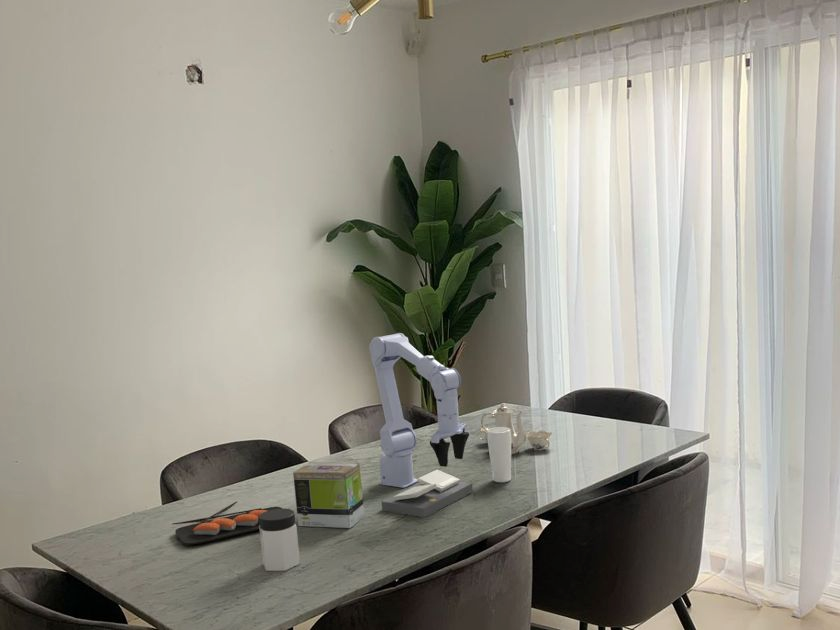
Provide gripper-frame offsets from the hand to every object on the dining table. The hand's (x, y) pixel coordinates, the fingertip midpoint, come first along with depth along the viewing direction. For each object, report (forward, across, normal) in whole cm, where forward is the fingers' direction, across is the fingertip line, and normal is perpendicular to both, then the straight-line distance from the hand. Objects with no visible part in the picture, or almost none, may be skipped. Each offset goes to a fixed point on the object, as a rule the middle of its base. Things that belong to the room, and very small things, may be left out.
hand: (451, 462), depth 237 cm
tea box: (+10, -29, +19) cm, 36 cm away
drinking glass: (+10, +19, -4) cm, 22 cm away
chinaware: (+11, +49, +10) cm, 52 cm away
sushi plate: (+11, -40, +47) cm, 63 cm away
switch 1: (+6, -10, +5) cm, 13 cm away
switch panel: (+10, -5, +5) cm, 12 cm away
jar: (+10, -56, +11) cm, 58 cm away
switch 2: (+6, +1, +5) cm, 8 cm away
